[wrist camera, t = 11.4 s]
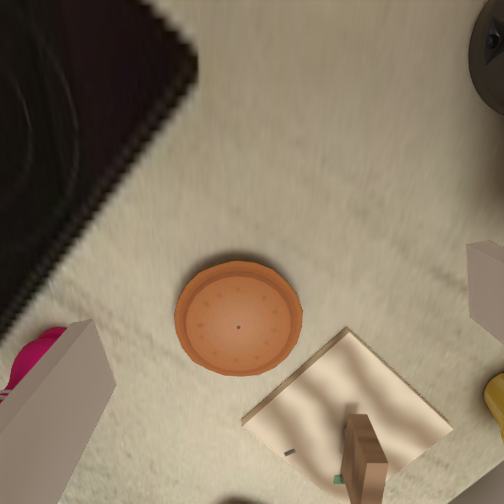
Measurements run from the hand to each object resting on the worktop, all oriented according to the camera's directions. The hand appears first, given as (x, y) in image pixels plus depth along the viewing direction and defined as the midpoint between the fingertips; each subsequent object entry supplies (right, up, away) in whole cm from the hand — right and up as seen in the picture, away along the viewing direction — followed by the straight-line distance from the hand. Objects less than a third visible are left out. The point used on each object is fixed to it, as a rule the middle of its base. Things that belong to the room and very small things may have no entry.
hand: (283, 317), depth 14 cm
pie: (-3, -5, +38) cm, 39 cm away
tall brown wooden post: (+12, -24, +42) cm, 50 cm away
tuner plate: (+12, -22, +43) cm, 50 cm away
